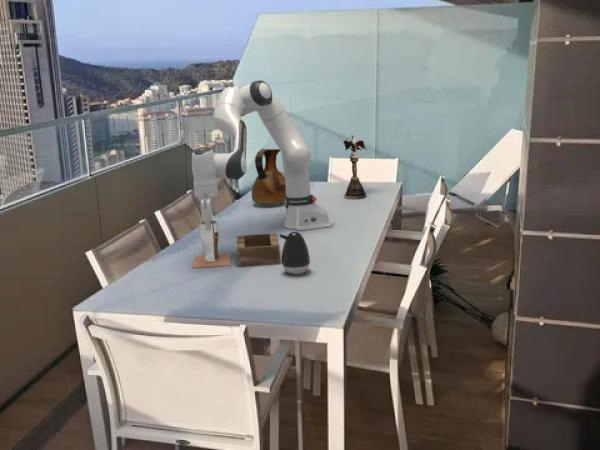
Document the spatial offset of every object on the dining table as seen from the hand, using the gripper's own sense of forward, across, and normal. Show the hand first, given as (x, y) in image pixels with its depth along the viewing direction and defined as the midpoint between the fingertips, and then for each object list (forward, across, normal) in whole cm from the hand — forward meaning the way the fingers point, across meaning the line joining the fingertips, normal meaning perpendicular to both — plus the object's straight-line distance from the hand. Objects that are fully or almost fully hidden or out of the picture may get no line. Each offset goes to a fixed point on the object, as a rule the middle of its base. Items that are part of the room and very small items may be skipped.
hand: (209, 226), depth 236 cm
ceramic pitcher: (+14, +91, -27) cm, 96 cm away
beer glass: (+14, 0, 0) cm, 14 cm away
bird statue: (+14, +97, -73) cm, 122 cm away
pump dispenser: (+14, -20, -31) cm, 39 cm away
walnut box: (+14, 0, -18) cm, 23 cm away
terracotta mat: (+14, 0, 0) cm, 14 cm away
